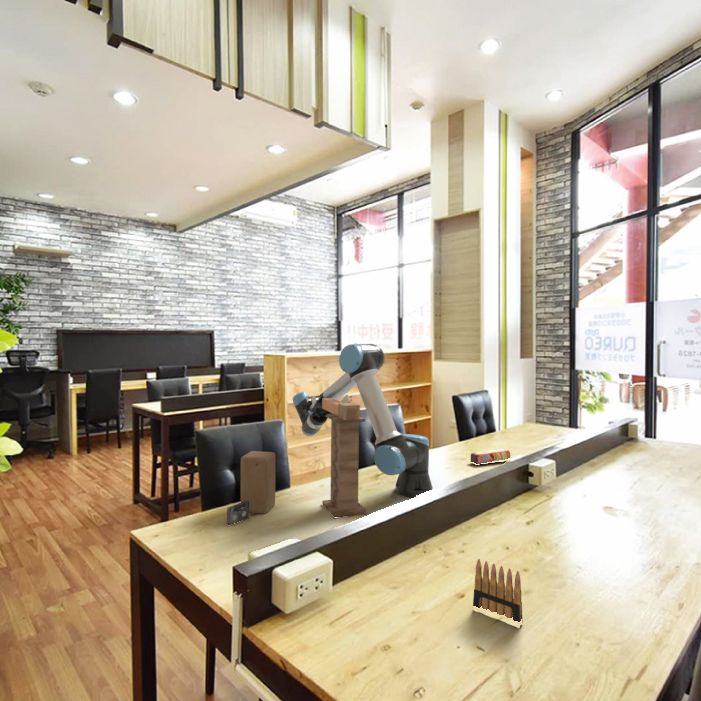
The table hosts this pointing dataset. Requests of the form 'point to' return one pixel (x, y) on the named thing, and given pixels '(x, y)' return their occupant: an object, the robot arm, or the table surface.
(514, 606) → the ammunition clip
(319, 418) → the robot arm
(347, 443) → the walnut stand
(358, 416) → the terracotta bar
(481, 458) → the red printed rectangular box
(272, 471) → the wooden block
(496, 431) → the table surface
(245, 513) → the mini dv tape
